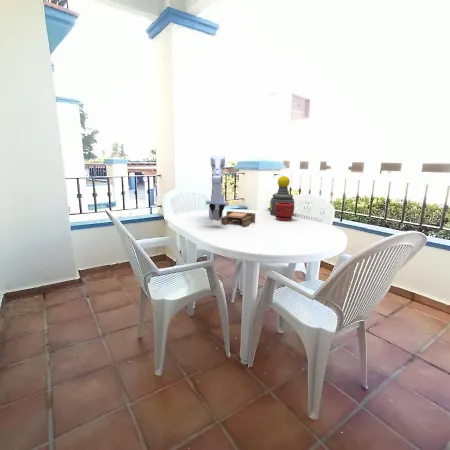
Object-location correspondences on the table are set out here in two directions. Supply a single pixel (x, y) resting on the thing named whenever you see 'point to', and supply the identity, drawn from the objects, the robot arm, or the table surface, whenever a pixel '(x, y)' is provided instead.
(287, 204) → the plant pot
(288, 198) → the decorative lamp
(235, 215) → the trapdoor
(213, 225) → the table surface
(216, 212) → the stone
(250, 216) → the frame
